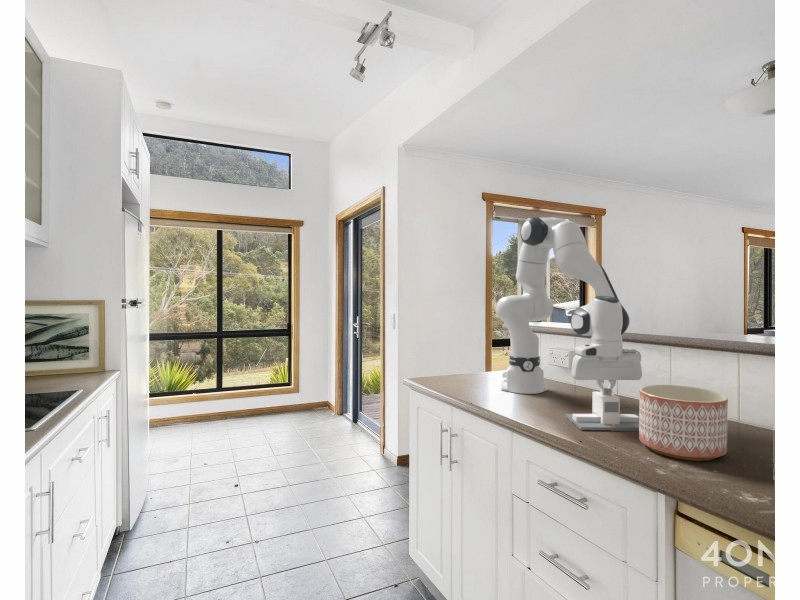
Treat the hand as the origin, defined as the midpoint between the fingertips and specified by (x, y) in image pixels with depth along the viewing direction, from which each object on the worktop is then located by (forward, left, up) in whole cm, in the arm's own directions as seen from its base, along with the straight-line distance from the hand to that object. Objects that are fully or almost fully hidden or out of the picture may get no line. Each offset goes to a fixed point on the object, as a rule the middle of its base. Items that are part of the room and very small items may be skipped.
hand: (606, 394), depth 138 cm
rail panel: (0, 0, -9) cm, 9 cm away
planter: (+22, +10, -9) cm, 26 cm away
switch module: (0, 0, -8) cm, 8 cm away
